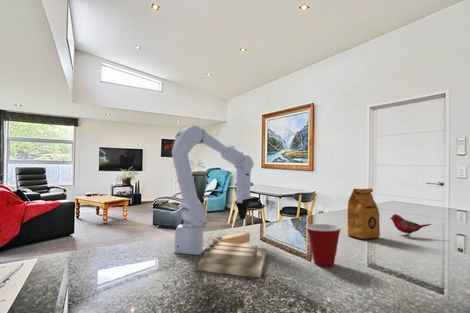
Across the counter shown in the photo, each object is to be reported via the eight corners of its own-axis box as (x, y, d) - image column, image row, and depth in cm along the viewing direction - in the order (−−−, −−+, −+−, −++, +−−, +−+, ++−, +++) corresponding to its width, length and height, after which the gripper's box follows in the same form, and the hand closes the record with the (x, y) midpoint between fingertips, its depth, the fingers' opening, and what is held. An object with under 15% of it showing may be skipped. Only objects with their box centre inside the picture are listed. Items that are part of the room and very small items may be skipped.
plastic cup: (315, 255, 86) (315, 220, 86) (347, 264, 78) (347, 225, 79) (298, 263, 78) (299, 224, 79) (332, 274, 70) (332, 231, 71)
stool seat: (197, 270, 71) (198, 251, 71) (216, 249, 89) (217, 234, 90) (260, 277, 67) (260, 257, 67) (266, 254, 85) (267, 238, 86)
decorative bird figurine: (388, 234, 117) (388, 213, 117) (429, 237, 114) (429, 215, 115) (391, 236, 114) (391, 214, 114) (433, 238, 111) (433, 216, 112)
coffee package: (384, 239, 108) (383, 189, 109) (361, 241, 105) (360, 189, 106) (365, 233, 118) (365, 187, 119) (344, 235, 114) (344, 187, 115)
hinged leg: (218, 249, 83) (218, 239, 83) (212, 247, 85) (213, 237, 85) (249, 241, 93) (249, 232, 93) (244, 239, 95) (244, 230, 95)
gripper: (250, 186, 92) (249, 223, 92) (255, 184, 107) (254, 216, 106) (231, 185, 94) (230, 221, 93) (239, 183, 108) (238, 215, 107)
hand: (242, 218), depth 100 cm, fingers closed
